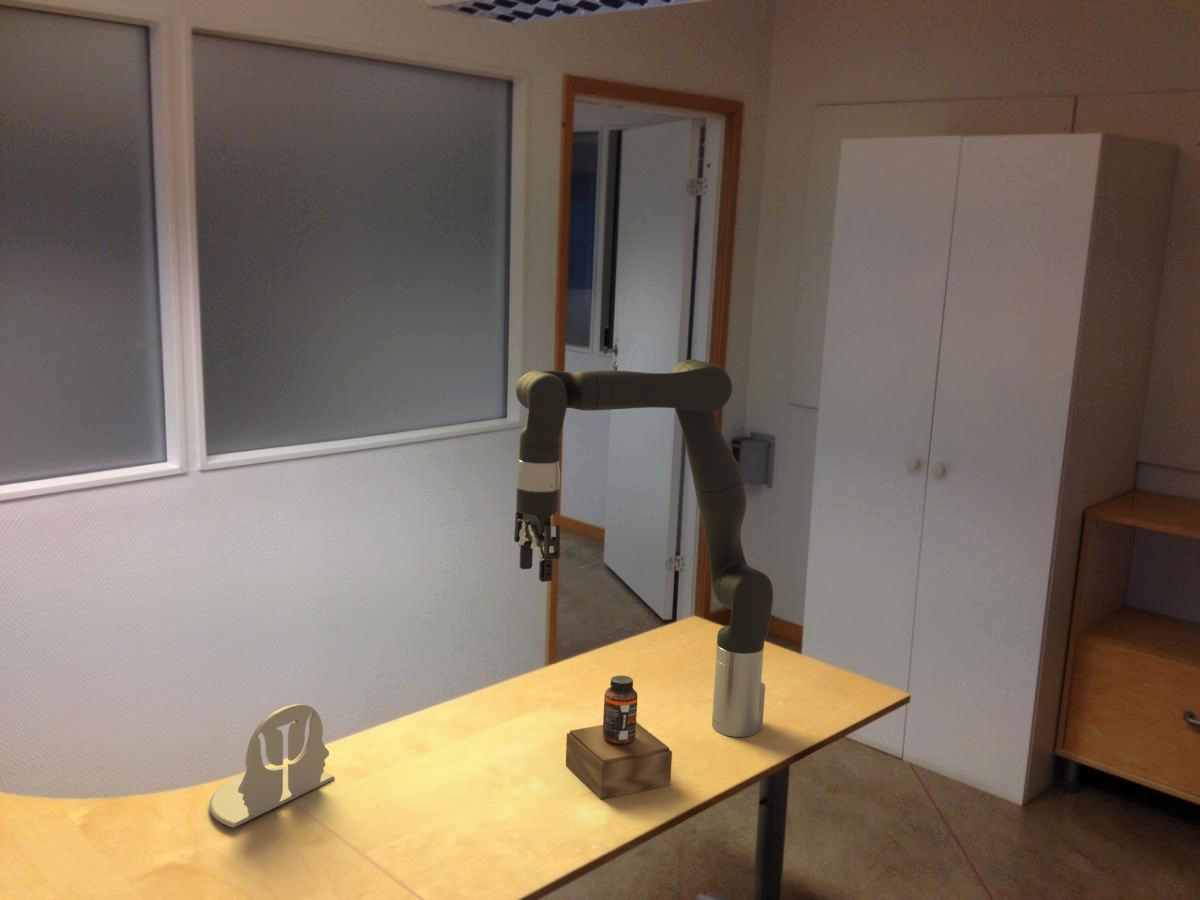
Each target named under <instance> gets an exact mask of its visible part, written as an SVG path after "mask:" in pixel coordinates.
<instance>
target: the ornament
mask: <svg viewBox="0 0 1200 900" xmlns="http://www.w3.org/2000/svg"><path fill="white" fill-rule="evenodd" d="M308 721H309V724H308V735H307V736H308V737H307V742H306V741H305V739H306V735H305V734H306V726H307V722H308ZM288 724H290V725H289V727H288V732H287V761H290V762H289V763H287V766H282V765H284V735H283V734H284V733H283V732H282V730H280V729H278V728H280V727H284V726H286V725H288ZM260 734H261V735H262V736H263V739H264V742H265V756H266V760H267V762H268V763H270V764H271V765H273V766H276V767H270V768H269V767H268V768H267V767H266V766H265V765H264V763H263V757H262V746H261V739H260V737H259V735H260ZM323 734H324V729H323V723H322V720H321V717H320V714H319V713H318V711H316V709H315V708H313V707H312V706H310V705H308V704H304V703H294V704H290V705H285V706H283V707H281V708H279V709H277V710H275V711H273V712H272V713H270V714H268V716H266V717H265V718H264V719H263V720H261V722H260V723H259V724H258V725H257V727H256V729H254V732H253V733H252V736H251V737H250V740H249V743H248V746H247V750H246V754H245V755H246V756H245V766H246V771H245V773H244V774H241V775H239V776H236V777H234V778H232V779H230V780H229V781H226V782H225V783H224V784H222V785H221V786H219V788H217V789H216V790H215V792H214V793H213V794H212V796H211V798H210V801H209V811H210V814H211V815H212V816H213V818H214V819H216V820H217V821H218V822H220V823H221V824H223V825H224V826H228V827H230V828H236V827H237V826H240V825H242V824H244V823H246V822H249V821H250V820H252V819H254V818H256V817H258V816H261V815H262V814H265V813H267V812H269V811H271V810H272V809H273V810H274V809H276V808H277V807H279V806H281V805H284V804H286V803H287V802H290V801H291V800H294V799H296V798H299V797H301V795H304V794H306V793H308V792H311V791H312V790H314V789H317V788H318V787H321V786H322V785H325V784H327V783H329V782H331V781H333V780H335V776H334V775H332V774H330V773H328V772H327V771H326V772H325V769H324V768H325V767H326V759H327V758H328V757H329V755H330V752H329V750H328V749H327V747H326V746H325V743H324V742H323V736H324V735H323ZM305 742H306V745H305ZM304 745H305V747H304ZM303 748H304V749H303ZM278 766H279V767H278Z"/></svg>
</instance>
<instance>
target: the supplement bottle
mask: <svg viewBox="0 0 1200 900" xmlns="http://www.w3.org/2000/svg"><path fill="white" fill-rule="evenodd" d="M609 685H610V687H608V688H606V690H605V692H604V697H603V698H604V700H603V717H602V718H603V719H602V720H603V721H602V725H603V738H604V739H605V740H606V741H608V742H610V743H613V744H628V743H630V742H632V741H633V740H634V739H635V734H636V722H637V715H638V713H637V711H638V696H639V695H638V692H637V690H635V689H634V679H633V678H632V677H630V676H628V675H621V674H620V675H615V676H612V677H611V678H610V684H609Z"/></svg>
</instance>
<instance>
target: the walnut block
mask: <svg viewBox="0 0 1200 900" xmlns="http://www.w3.org/2000/svg"><path fill="white" fill-rule="evenodd" d="M565 745H566V746H565V748H566V749H565V767H566V768H567V769H568V770H569V771H570V772H571V773H572V774H573V775H574V776H576V778H577V779H579V781H580V782H582V783H583V785H585V786H586V787H587V788H588V789H589V790H590V791H591V792H592V793H593V794H594V795H595V796H596V797H598V799H599V800H601V801H602V800H605V799H611V798H617V797H620V796H625V795H630V794H635V793H639V792H644V791H650V790H654V789H658V788H659V789H660V788H664V787H669V786H671V782H672V781H671V780H672V763H673V762H672V759H673V751H672V750H671V748H670V747H669V746H667V744H665V743H664V742H663V741H661V740H660V739H659V738H657V737H656V736H654V735H653V734H652V733H651V732H650V731H648V730H647V729H646V728H644V726H642V725H641V724H640V723H638V722H637V721H636V734H635V739H634V740H633V741H632V742H630V743H628V744H613V743H610V742H608V741H606V740H605V739H604V738H603V724H600V725H594V726H590V727H583V728H582V727H581V728H578V729H577V728H576V729H571V730H569V732H566V744H565Z"/></svg>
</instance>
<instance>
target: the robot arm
mask: <svg viewBox="0 0 1200 900" xmlns="http://www.w3.org/2000/svg"><path fill="white" fill-rule="evenodd" d="M732 392H733V383H732V379H731V378H730V375H729V374H728V372H726V370H724V369H723V368H721V367H720V366H718V365H716V364H714V363H711V362H707V361H702V360H698V359H685V360H681V361H680V362H678V363H677V364H676V365H675V366H674V367H673V370H672V371H671V372H670V373H669V372H666V373H665V372H663V373H661V372H659V373H658V372H642V371H641V372H640V371H629V370H610V369H609V370H607V369H606V370H605V369H603V370H584V371H561V370H541V369H540V370H532V371H530V372H527V373H525V374H524V375H522V376H521V377H520V378H519V379H518V380H517V383H516V387H515V395H516V397H517V400H518V401H519V403H520V404H521V405H522V407H524V408H525V409H527V410H528V413H527V422H526V426H525V427H524V428H523V429H521V431H520V434H519V451H518V452H519V455H518V457H519V458H518V465H517V472H516V474H517V475H516V501H515V503H516V505H515V508H516V509H515V510H516V511H515V519H514V520H515V521H514V536H513V540H514V542H515V543H517V547H518V549H519V568H520V569H521V570H528V569H529V570H530V569H532V567H533V556H534V555H533V553H534V549H535V550H536V551H537V554H538V557H539V560H538V561H539V566H538V580H539V581H540V582H542V583H544V582H551V581H552V579H553V561H555V560H560V557H561V555H560V554H561V552H560V551H561V549H560V548H561V546H560V545H561V543H560V541H561V539H560V538H561V536H560V534H561V529H560V525H558V524H556V525H555V524H552V518H551V517H552V516H553V515H555V514H558V512H559V510H560V491H561V490H560V489H561V488H560V487H561V486H560V484H561V470H560V448H561V447H560V446H561V445H560V441H561V440H560V437H561V433H562V430H563V427H564V421H565V418H566V413H567V409H574V410H578V411H585V412H586V411H587V412H588V411H609V410H612V411H613V410H625V409H626V410H627V409H628V410H629V409H642V408H643V409H647V408H663V409H675V412H676V415H677V419H678V421H679V424H680V427H681V431H682V434H683V438H684V443H685V446H686V447H685V448H686V452H687V458H688V461H689V465H690V471H691V476H692V481H693V486H694V492H695V496H696V501H697V504H698V508H699V512H700V517H701V521H702V526H703V530H704V537H705V540H706V544H707V548H708V549H707V551H708V557H709V567H710V568H709V569H710V576H711V585H712V590H713V594H714V596H715V598H716V600H717V601H718V602H719V603H720V605H722V606H724V607H725V608H728V609H729V610H730V612H731V614H730V621H729V622H730V623H729V625H725V626H723V627H721V628H720V629H719V630H718V631H717V637H716V653H715V668H714V669H715V672H714V686H713V702H712V717H711V719H712V720H711V726H712V729H713V730H714V731H715V732H717V733H718V734H721V735H723V736H727V737H734V738H745V737H746V738H747V737H751V736H753V735H756V734H757V733H758V732H760V731H762V730H763V728H764V727H763V724H764V723H763V722H764V710H765V696H766V684H765V683H763V682H762V681H763V680H762V679H763V678H762V677H763V663H764V661H763V660H764V648H765V641H766V639H767V637H768V635H769V631H770V626H771V618H772V612H773V611H772V610H773V603H774V600H773V599H774V589H773V584H772V581H771V579H770V578H769V576H768V575H767V574H765V573H764V572H762V571H759V570H758V569H756V568H754V567H751V566H749V565H748V563H747V561H746V557H745V555H744V550H743V546H742V541H741V531H742V525H743V522H744V518H745V513H746V509H747V496H746V491H745V490H746V489H745V487H744V479H743V477H742V476H743V475H742V472H741V469H740V466H739V464H738V462H737V460H736V458H735V455H734V453H733V452H732V450H731V449H730V447H729V445H728V443H727V441H726V439H725V438H724V436H723V433H722V432H721V429H720V426H719V422H718V421H717V415H716V412H717V411H719V410H721V409H722V408H723V407H725V406H726V405H727V403H729V400H730V399H731V396H732ZM532 547H533V548H534V549H533V548H532Z"/></svg>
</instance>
